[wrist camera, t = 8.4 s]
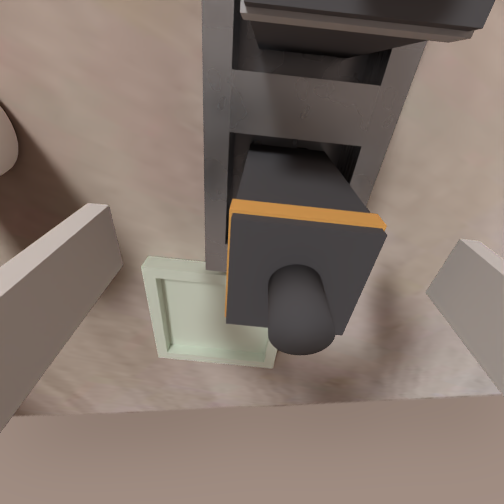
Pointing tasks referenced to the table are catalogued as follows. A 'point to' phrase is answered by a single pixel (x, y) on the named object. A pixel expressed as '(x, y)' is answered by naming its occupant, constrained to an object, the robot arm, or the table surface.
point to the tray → (199, 316)
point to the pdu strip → (290, 110)
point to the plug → (297, 248)
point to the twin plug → (360, 24)
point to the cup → (7, 143)
